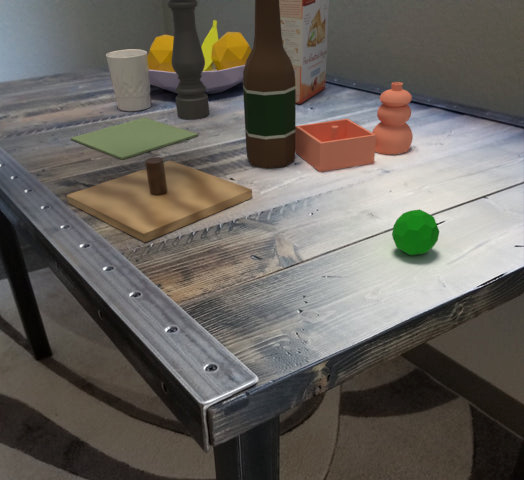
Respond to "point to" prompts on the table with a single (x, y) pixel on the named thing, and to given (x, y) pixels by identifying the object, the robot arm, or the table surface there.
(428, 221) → the polyhedron
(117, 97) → the white cup
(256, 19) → the beer bottle
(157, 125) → the mat
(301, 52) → the cracker box
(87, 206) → the post stand
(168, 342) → the table surface
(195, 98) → the grey turned spindle
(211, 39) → the fruit bowl
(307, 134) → the pottery
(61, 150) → the table surface
